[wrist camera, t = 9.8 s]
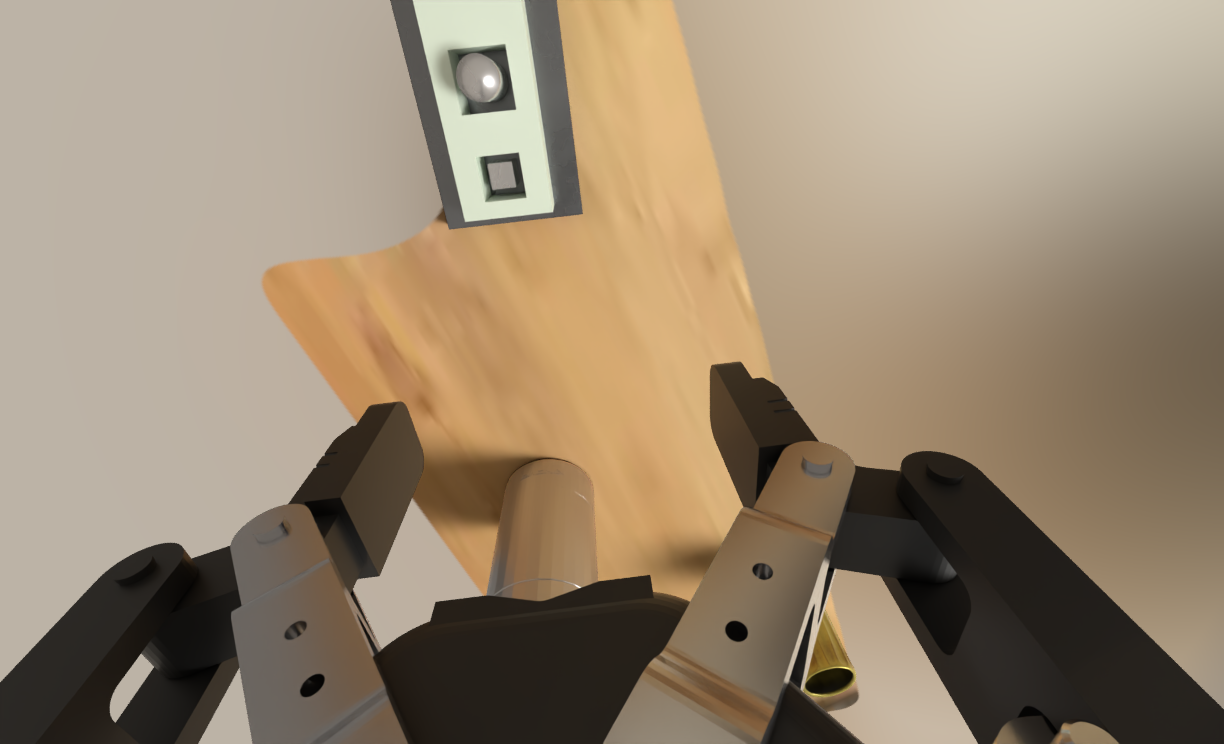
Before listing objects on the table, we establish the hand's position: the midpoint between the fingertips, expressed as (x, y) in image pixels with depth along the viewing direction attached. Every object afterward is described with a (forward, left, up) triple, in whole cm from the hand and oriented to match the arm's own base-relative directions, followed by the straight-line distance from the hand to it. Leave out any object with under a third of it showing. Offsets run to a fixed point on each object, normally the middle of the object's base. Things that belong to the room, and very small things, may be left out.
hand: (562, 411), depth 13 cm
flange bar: (+9, +4, -27) cm, 28 cm away
